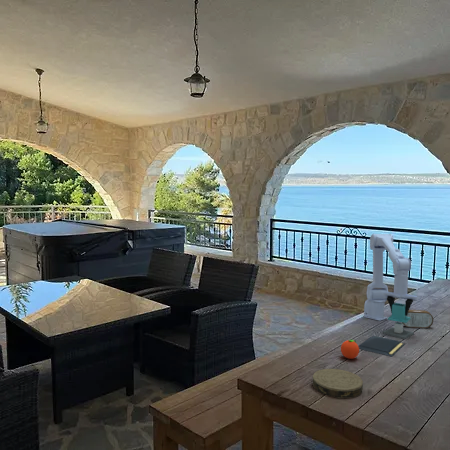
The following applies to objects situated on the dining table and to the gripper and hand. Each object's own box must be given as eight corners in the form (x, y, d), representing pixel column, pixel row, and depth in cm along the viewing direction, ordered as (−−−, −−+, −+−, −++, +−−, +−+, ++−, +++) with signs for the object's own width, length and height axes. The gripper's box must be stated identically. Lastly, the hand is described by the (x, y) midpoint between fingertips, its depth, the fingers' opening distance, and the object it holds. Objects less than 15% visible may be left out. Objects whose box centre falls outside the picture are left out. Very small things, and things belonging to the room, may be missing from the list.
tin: (431, 327, 206) (432, 310, 206) (433, 329, 203) (434, 312, 202) (399, 325, 208) (400, 308, 207) (401, 327, 204) (402, 310, 204)
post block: (382, 333, 195) (383, 323, 194) (392, 329, 202) (393, 318, 201) (404, 339, 187) (405, 328, 187) (413, 334, 194) (414, 323, 194)
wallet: (372, 333, 191) (407, 341, 181) (372, 337, 191) (407, 345, 181) (354, 344, 176) (391, 354, 166) (354, 349, 176) (391, 359, 166)
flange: (387, 319, 193) (388, 305, 193) (392, 315, 200) (392, 301, 199) (406, 323, 188) (407, 308, 188) (410, 319, 195) (411, 304, 194)
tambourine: (332, 402, 129) (333, 393, 129) (303, 381, 144) (303, 372, 143) (373, 393, 135) (373, 384, 135) (341, 374, 150) (341, 366, 150)
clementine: (347, 352, 170) (348, 335, 169) (363, 357, 165) (364, 339, 164) (336, 357, 164) (337, 339, 164) (353, 363, 159) (354, 344, 159)
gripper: (381, 283, 194) (380, 313, 195) (416, 288, 185) (414, 318, 186) (386, 281, 200) (384, 309, 200) (419, 285, 191) (417, 315, 192)
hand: (399, 313), depth 194 cm, fingers closed on flange, 5 cm apart
